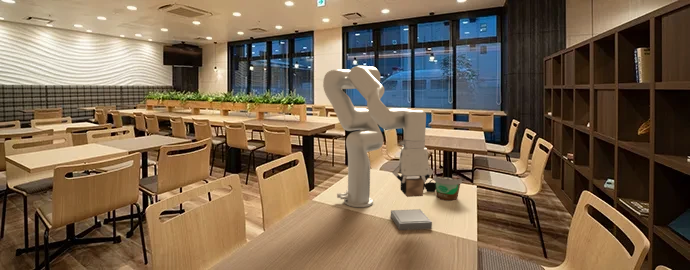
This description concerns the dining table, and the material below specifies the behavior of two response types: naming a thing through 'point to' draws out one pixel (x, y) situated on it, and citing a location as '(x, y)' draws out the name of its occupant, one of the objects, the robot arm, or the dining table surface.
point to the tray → (411, 219)
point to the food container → (447, 188)
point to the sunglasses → (430, 186)
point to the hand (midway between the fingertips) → (412, 191)
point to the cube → (414, 186)
